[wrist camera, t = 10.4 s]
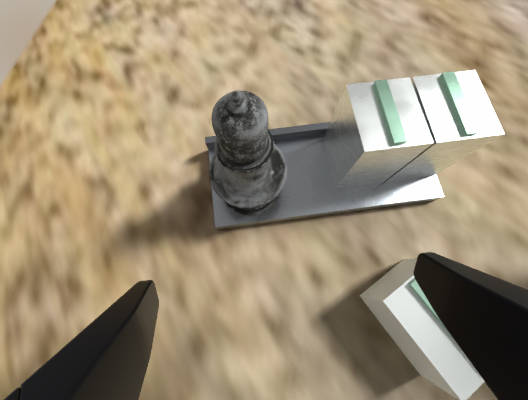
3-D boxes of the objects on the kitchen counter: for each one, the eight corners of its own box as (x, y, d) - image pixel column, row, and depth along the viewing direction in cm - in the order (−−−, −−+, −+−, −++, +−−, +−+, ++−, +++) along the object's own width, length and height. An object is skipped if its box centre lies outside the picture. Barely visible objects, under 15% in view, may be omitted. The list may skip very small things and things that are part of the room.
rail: (435, 200, 23) (527, 160, 15) (217, 229, 22) (190, 204, 14) (409, 124, 25) (477, 53, 17) (210, 149, 25) (184, 87, 17)
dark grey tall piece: (203, 187, 22) (138, 95, 11) (249, 143, 24) (235, 18, 12) (251, 232, 21) (237, 183, 10) (297, 184, 22) (332, 88, 11)
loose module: (463, 332, 20) (522, 350, 16) (418, 374, 19) (467, 405, 15) (402, 259, 22) (438, 255, 17) (358, 295, 21) (385, 301, 16)
